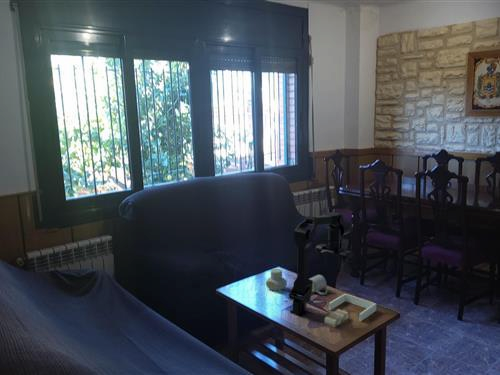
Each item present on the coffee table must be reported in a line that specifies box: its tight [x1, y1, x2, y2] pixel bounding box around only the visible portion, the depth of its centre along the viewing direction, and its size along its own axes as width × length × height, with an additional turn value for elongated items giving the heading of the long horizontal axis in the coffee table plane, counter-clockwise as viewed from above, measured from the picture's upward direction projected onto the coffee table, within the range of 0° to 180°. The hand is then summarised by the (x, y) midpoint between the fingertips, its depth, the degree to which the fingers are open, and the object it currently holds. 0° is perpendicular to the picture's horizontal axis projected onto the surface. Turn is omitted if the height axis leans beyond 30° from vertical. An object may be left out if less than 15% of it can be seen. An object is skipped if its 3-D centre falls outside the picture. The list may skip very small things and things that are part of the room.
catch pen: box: [328, 293, 377, 322], centre depth 199 cm, size 14×17×4 cm
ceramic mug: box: [309, 274, 328, 296], centre depth 219 cm, size 11×8×8 cm
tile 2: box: [331, 308, 349, 323], centre depth 191 cm, size 5×5×3 cm
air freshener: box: [265, 268, 288, 292], centre depth 223 cm, size 11×8×10 cm
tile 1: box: [324, 313, 342, 328], centre depth 187 cm, size 5×5×3 cm
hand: (333, 267), depth 214 cm, fingers open, 9 cm apart
